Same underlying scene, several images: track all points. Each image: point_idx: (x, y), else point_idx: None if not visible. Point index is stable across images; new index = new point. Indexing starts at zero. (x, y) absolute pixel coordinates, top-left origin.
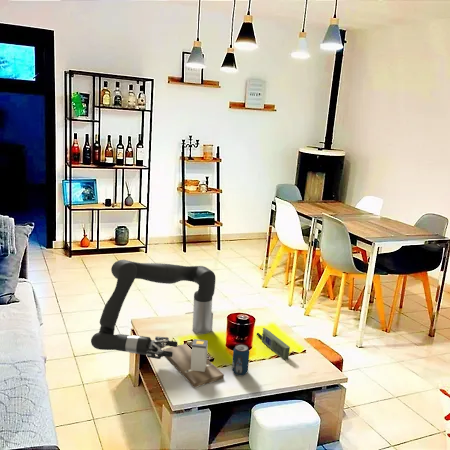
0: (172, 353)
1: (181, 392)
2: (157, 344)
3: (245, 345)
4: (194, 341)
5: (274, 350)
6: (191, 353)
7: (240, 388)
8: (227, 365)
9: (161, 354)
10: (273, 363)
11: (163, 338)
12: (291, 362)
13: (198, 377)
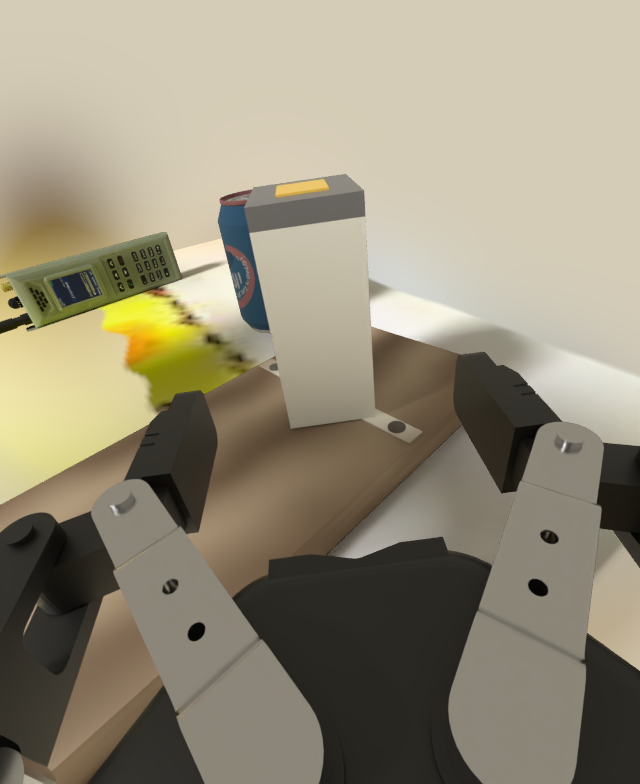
0: (461, 369)
1: (599, 424)
2: (354, 647)
3: (229, 197)
4: (293, 197)
5: (125, 291)
6: (368, 285)
7: (387, 299)
8: (232, 353)
9: (613, 455)
10: (202, 286)
11: (13, 612)
12: (194, 270)
13: (429, 370)
